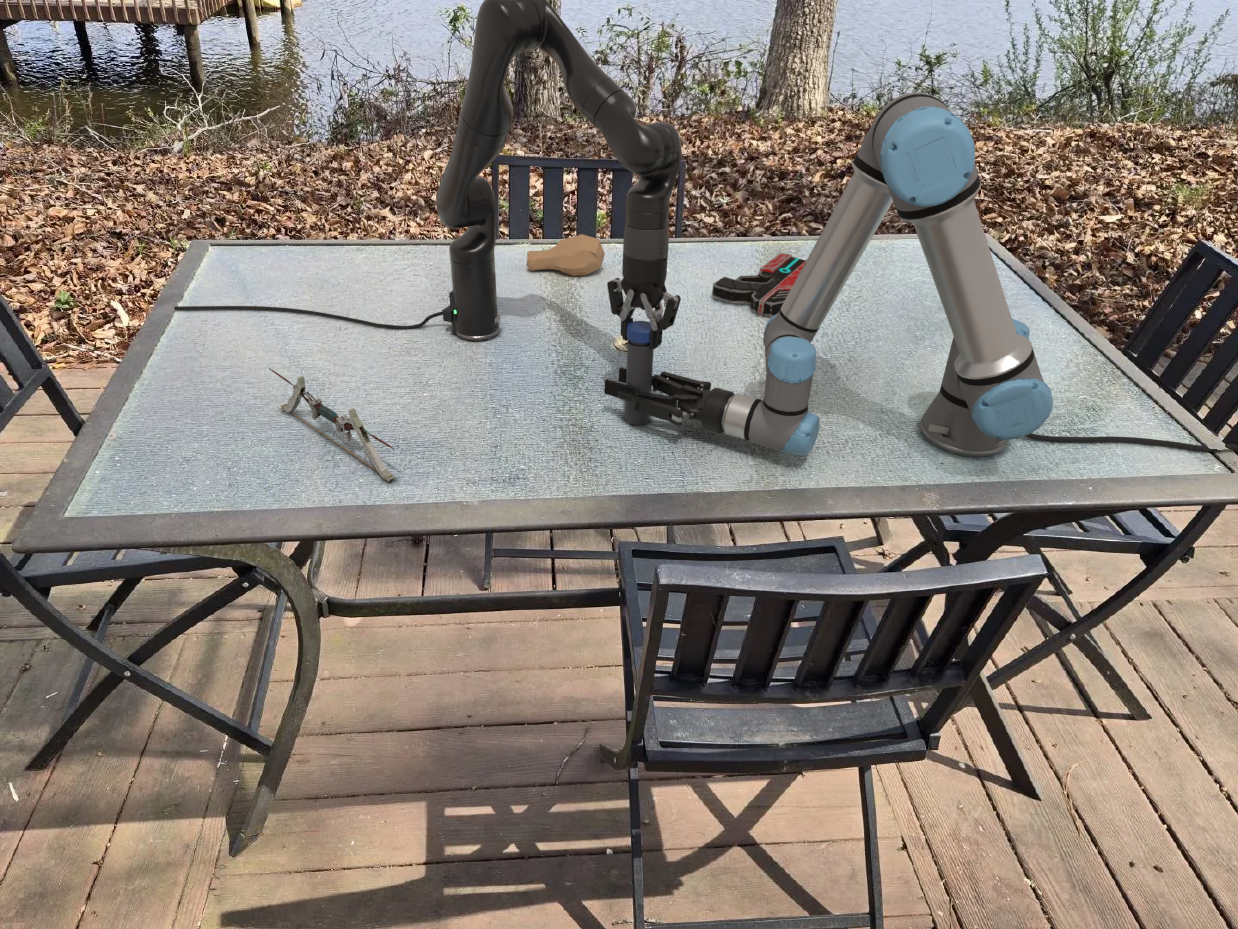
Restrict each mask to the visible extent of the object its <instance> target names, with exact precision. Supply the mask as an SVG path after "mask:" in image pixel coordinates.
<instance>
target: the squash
mask: <svg viewBox="0 0 1238 929" xmlns="http://www.w3.org/2000/svg"><path fill="white" fill-rule="evenodd" d="M605 254H606V253H605V250H604V248H603V245H602V243H601V241H600V239H599V238H596V237H593V236H590V235H587V234H582V233H580V234H578V235H575V236H572V237H567V238H562V239H561V240H560V241H558V243H557V242H556V245H555V246H553V247H551V248H549V249H543V250H529V251H527V252H526V257H527V258H526V267H527V268H528V270H529V271H530V272H531V271H539V270H554V271H555V270H556V271H559V272H561V273H564V274H567V275H569V276H572V277H577V276H578V277H579V276H580V277H581V276H587V275H589V274H591V273H594V272H596V271H597V270H599V269H601V267H602V266H603V262H604V259H605Z"/></svg>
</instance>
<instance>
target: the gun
mask: <svg viewBox="0 0 1238 929" xmlns="http://www.w3.org/2000/svg"><path fill="white" fill-rule="evenodd" d="M806 261H807V259H802V258H799V257H795V256H793V255H792V254H791V253H784V252H780V253H778V254H777V255H775V256H774V257H773V258H771V259H770V260H768V261H767V262H766V263H765V264H763V265H762V266H761V267H760V269H759V271H758V273H757V274H756V275H753V274H752V275H751V274H750V275H740V276H738V277H737V278H735V279H734V278H731V277H727V276H722V277H720V279H717V281H715V282H713V283H712V291H711V297H713V298H714V299H716V300H719V301H723V302H727V303H730V304H750V305H749V308H750V310H751V312H753V313H755V314H757V315H758V316H760V317H761V316H765V317H769V318H772V317H773V316H774V315H776V314H778V312H779V311H780V309H781V307H782V305H783V303H784V301H785V299H786V298H787V296H788V294H789V292H790V290H791V288H792V287H793V285H794V283H795V281H796V279H797V277H798V275H799V274H800V272H801V270H802V268H803V266H804V264H805V263H806Z"/></svg>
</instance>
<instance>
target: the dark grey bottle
mask: <svg viewBox="0 0 1238 929" xmlns="http://www.w3.org/2000/svg"><path fill="white" fill-rule="evenodd" d="M649 345H650V343H644V344H643V343H634V342H631V341H629V340H627V349H626V351H627V353H626V369H627V371H626V385H629V386H633V387H636V388H637V387H639V391H641V392H648V393H652V386H651V385H652V376H653V366H654V351H655V349H654V350H653V349H650V348H649ZM650 417H651V416H649V415H646V414H642V413H639V412H636V411H633V403H632V402H629V401H626V400H624V420H625V422H626V423H628V424H630V425H635V426H641V425H642V426H643V425H645V424H648V423H649V421H650Z"/></svg>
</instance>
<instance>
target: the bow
mask: <svg viewBox="0 0 1238 929" xmlns="http://www.w3.org/2000/svg"><path fill="white" fill-rule="evenodd" d="M269 370H270V371H271V372H272V373H274V374H275V375H277V376H278V377H279V378H281V379H282V380H283V381H285V382H286V383H288V384H289V385H291V386H292V389H293V391H292V395H291V396H290V397H289V398H288V400H287V403H284V404H282V405H280V409H281V410H282V411H283V412H285V413H288V414H289V413H290V414H292V415H293V416H295V417H296V418H297V419H299V420H300V421H302V422H303V423H305V425H308V426H309V427H310V428H312V429H314V430H315V431H316V432H318V433H319V434H321V435H323V436H324V437H325V438H327V439H328V440H330V441H331V442H333V443H334V444H336V445H337V446H339V447H340V448H342V449H343V450H344V451H346V452H347V453H349V454H350V455H352V456H353V457H355V458H356V459H358V460H359V461H360V462H362V463H363V464H365V465H366V466H368V467H369V468H371V469H372V470H374V471H375V472H377V473H378V474H379V476H380V477H381V478H382V480H384V481H386V482H388V483H389V482H391V480H396V479H395V478H396V477H395V476H393V474H392V473H391V472H390V471H389V470H388V469H387V468H386V466H385V465H384V462H383V461H382V458H381V457H380V454H379V452H378V451H377V450H376V448H375V446H374V444H373V443H372V440H371V438H370V437H372V438H373V439H375V440H376V441H378V442H379V443H381V444H383V445H384V446H387V447H388V448H390V449H392V450H394V449H395V447H393V446H392V445H390V444H389V443H387V442H385V441H384V440H382V439H381V438H380V437H378V436H376V435H373V434H372V433H370V432H368V430H367V429H366V427H365V426H364V424H363V422H362V420H361V419H360V417H359V415H358V412H357V411H356V408H354V407H353V408H350V409H348V415H349V416H348V415H347V414H343V415H341V416H339V415H338V413H337V412H336V411H334V410H333V409H331V408H330V407H327V406H326V405H324V404H323V401H322V398H321V397H317V398H315V397H314V396H313V394H311V393H310V392H309V391H306V387H307V385H306V380H305V377H304V375H302V376H300V377H299V376H298V377H297V380H296V383H295V384H293V383H292V382H291V381H290V380H289V379H287V378H286V377H284V376H283V375H282V374H280V373H278V372H277V371H275V370H274V369H272V368H270V367H269ZM302 398H303V399H304V401H305V402H306V403H307V404H308V407H309V408H310V415H311V417H310V418H311V419H312V420H313V421H314V420H317V419H320V416H322V417H323V418H325V419H326V420H327V421H329V422H330V423H332V424H334V427H335V429H336V431H337V432H339V433H342V434H343V436H342V437H343V438H344V441H345V442H346V443H348V442H350V441H353V440H354V438H353V435H352V434H353V433H351V431H354V432H355V434H356V435H357V437H358V438H359V441H360V443H361V444H362V447H363V448H364V451H365V453H366V454H367V456H368V457H369V459H370V461H371V463H372V465H373V466H372V465H370V464H368V462H366V461H364V460H363V459H361V458H360V457H358V456H357V455H356V454H354V453H352V452H351V451H349V450H348V449H347V448H345V447H344V446H342V445H341V444H339V443H338V442H336V441H335V440H333V439H332V438H331V437H329V436H328V435H326V434H325V433H323V432H322V431H320V430H319V429H317V428H316V427H315V426H312V424H310V423H308V422H307V421H305V420H304V419H303V418H302V417H299V415H297V414H295V413H294V411H295V410H296V409H297V408H298V406H299V404H300V403H301V400H302Z"/></svg>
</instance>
